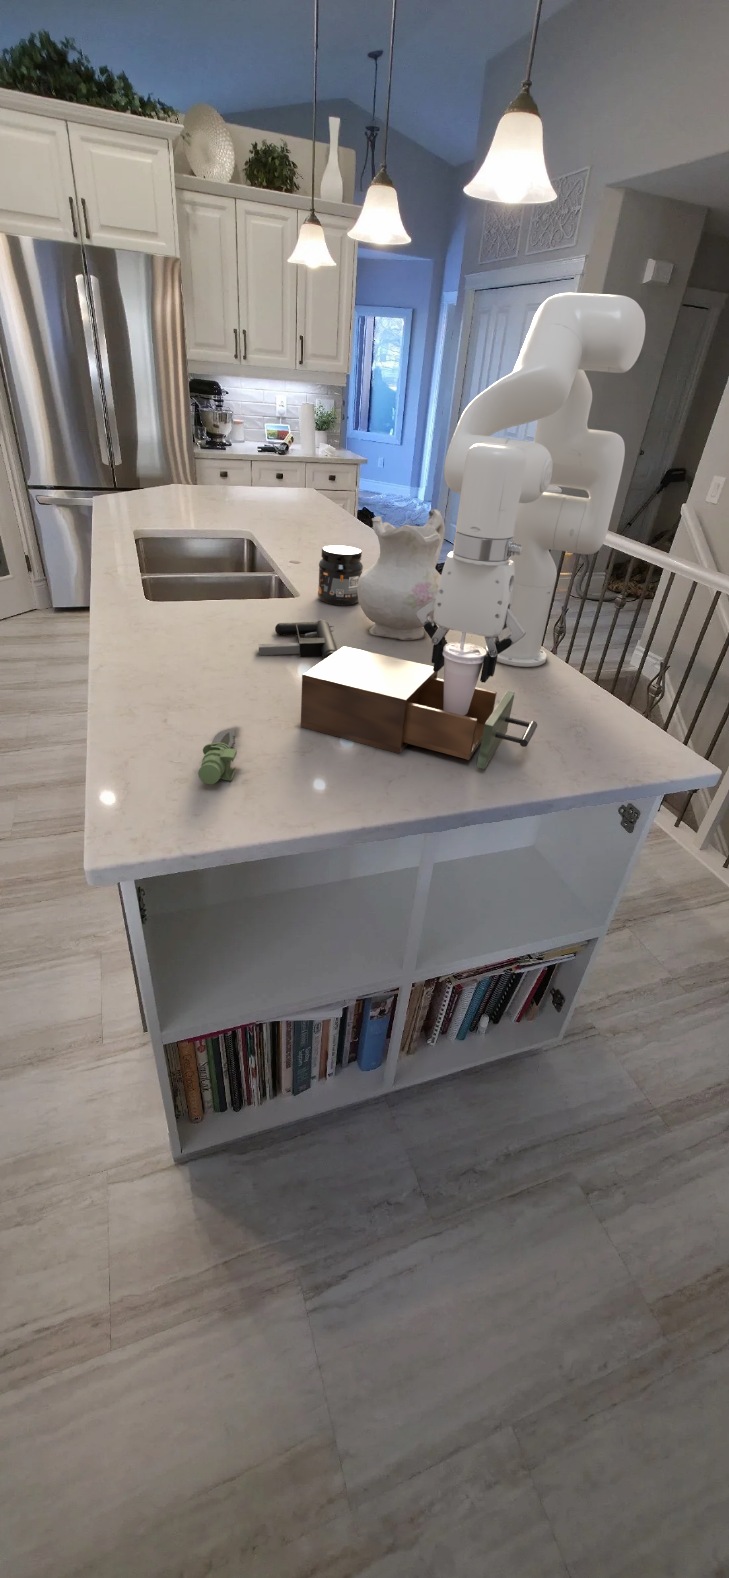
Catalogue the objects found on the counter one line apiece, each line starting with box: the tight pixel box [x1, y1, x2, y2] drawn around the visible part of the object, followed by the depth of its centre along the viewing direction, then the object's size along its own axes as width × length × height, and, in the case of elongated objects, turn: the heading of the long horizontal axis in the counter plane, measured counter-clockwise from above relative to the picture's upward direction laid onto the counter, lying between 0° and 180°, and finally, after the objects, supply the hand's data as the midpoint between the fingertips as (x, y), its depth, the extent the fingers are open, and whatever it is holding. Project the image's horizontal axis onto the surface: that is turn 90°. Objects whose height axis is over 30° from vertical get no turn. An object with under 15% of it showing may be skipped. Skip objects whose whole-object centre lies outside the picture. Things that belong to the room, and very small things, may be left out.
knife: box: [198, 728, 238, 785], centre depth 95 cm, size 4×18×5 cm
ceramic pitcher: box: [357, 508, 446, 641], centre depth 143 cm, size 22×20×25 cm
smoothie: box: [442, 632, 487, 715], centre depth 99 cm, size 6×6×14 cm
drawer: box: [403, 677, 538, 770], centre depth 102 cm, size 20×14×7 cm, turn 66°
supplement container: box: [317, 544, 364, 606], centre depth 163 cm, size 10×10×12 cm
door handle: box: [258, 619, 338, 660], centre depth 135 cm, size 3×20×16 cm
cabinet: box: [300, 645, 439, 755], centre depth 107 cm, size 17×15×9 cm
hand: (461, 673), depth 99 cm, fingers closed on smoothie, 6 cm apart
